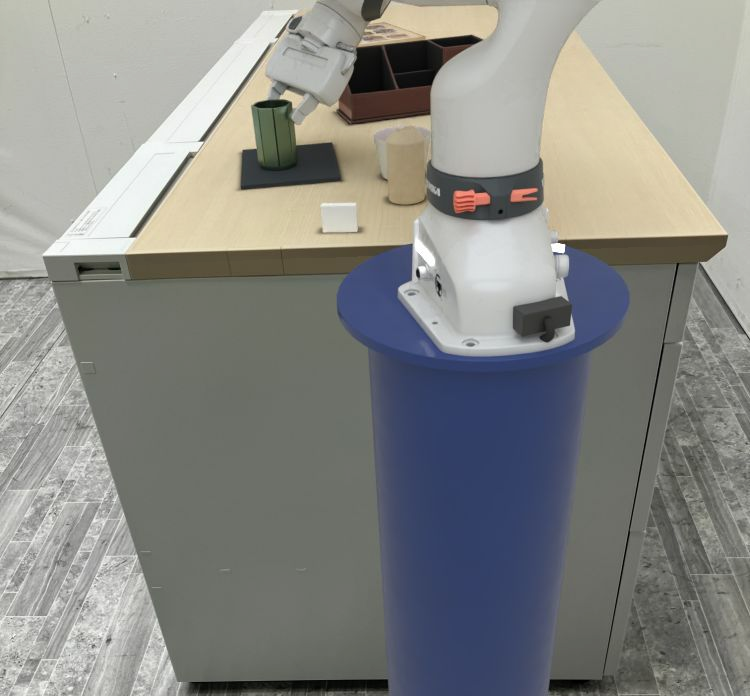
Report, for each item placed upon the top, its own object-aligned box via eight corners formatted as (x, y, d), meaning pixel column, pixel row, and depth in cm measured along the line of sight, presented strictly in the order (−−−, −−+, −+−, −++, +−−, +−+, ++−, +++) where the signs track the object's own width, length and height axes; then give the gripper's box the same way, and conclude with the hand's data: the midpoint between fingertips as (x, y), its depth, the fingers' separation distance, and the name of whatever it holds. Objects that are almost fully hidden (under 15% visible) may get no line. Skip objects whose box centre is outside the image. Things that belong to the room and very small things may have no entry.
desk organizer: (492, 106, 163) (494, 42, 156) (349, 124, 157) (345, 59, 150) (472, 94, 171) (473, 33, 164) (335, 112, 165) (331, 49, 158)
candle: (406, 190, 127) (404, 120, 120) (432, 197, 123) (432, 126, 117) (380, 199, 124) (377, 129, 118) (407, 207, 121) (405, 135, 114)
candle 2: (373, 168, 136) (371, 128, 132) (428, 165, 136) (427, 124, 132) (376, 186, 129) (374, 144, 125) (434, 182, 129) (433, 140, 125)
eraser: (323, 229, 116) (321, 203, 113) (358, 228, 115) (356, 202, 113) (322, 232, 115) (320, 206, 112) (357, 232, 114) (355, 205, 112)
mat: (341, 180, 132) (341, 177, 131) (241, 189, 131) (240, 185, 130) (332, 145, 147) (332, 142, 147) (242, 153, 146) (242, 149, 146)
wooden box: (292, 60, 208) (327, 81, 187) (289, 32, 204) (324, 49, 183) (382, 49, 214) (426, 67, 194) (381, 21, 210) (426, 36, 190)
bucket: (254, 164, 139) (286, 157, 141) (270, 173, 135) (303, 165, 137) (245, 103, 133) (280, 97, 135) (262, 111, 129) (297, 104, 131)
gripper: (374, 62, 126) (324, 141, 129) (311, 44, 140) (267, 116, 143) (347, 33, 122) (295, 116, 124) (285, 18, 136) (240, 92, 138)
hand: (280, 116), depth 134 cm, fingers open, 8 cm apart
